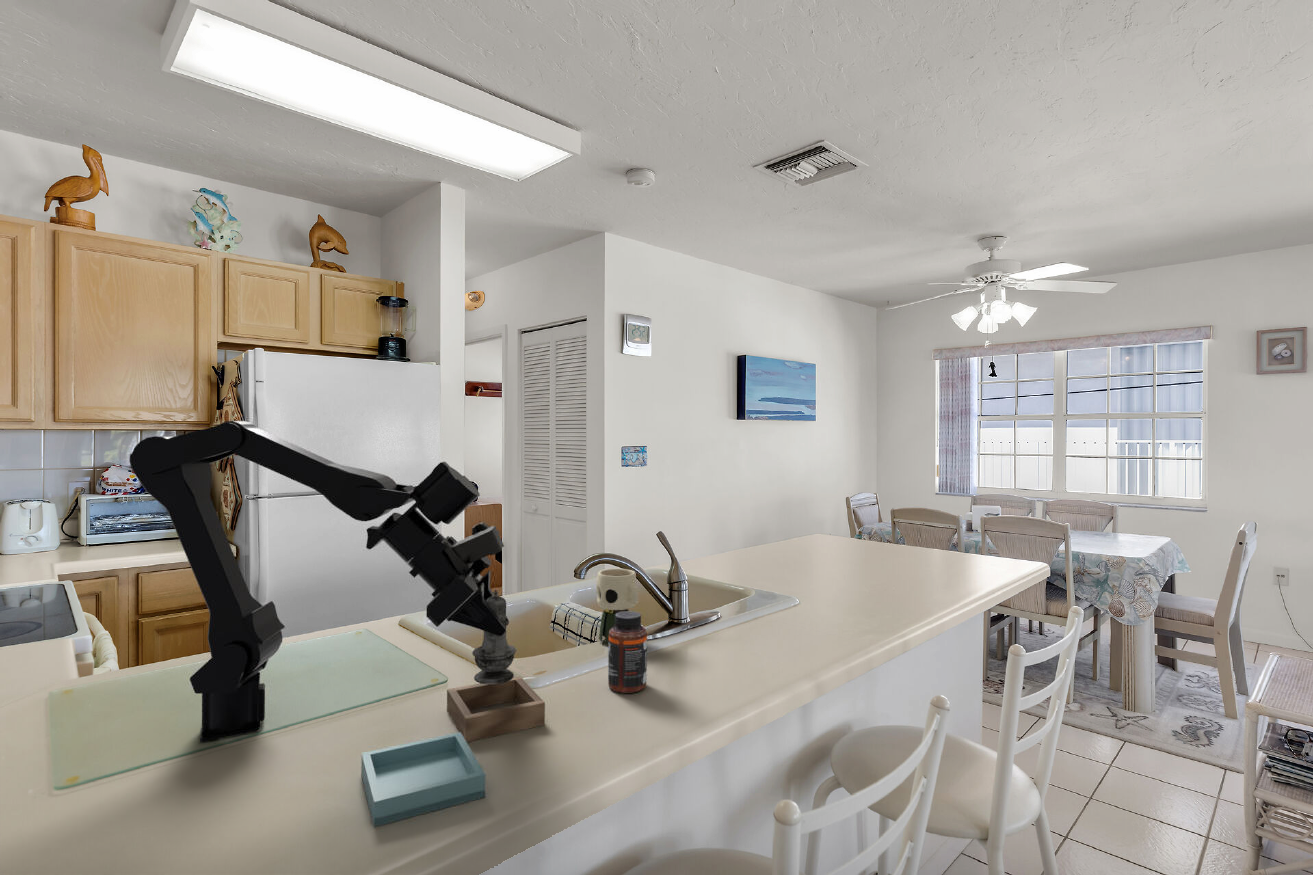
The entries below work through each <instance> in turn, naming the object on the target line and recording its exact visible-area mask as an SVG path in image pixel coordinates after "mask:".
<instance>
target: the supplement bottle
mask: <svg viewBox="0 0 1313 875" xmlns="http://www.w3.org/2000/svg"><path fill="white" fill-rule="evenodd" d="M615 623H616V624H615V625H614V626H613V627H612V628H611V629H610V631H609V643H608V651H607V652H608V653H607V654H608V659H607V660H608V661H607V662H608V666H607V667H608V668H607V669H608V670H607V672H608V673H607V674H608V676H607V678H608V681H607V682H608V687H609V689H611V690H612V691H614V692H617V693H621V694H631V693H638V692H640V691H643V689H645V688H646V687H647V676H648V675H647V674H648V673H647V670H648V666H647V664H648V662H647V659H648V657H647V656H648V648H647V647H648V632H647V630H646V628H645V627H644V626H642V624H641V623H642V614H641V613H640V612H637V611H633V610H632V611H631V610H629V611H623V612H619V613H617V614H616V615H615Z"/></svg>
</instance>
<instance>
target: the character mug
mask: <svg viewBox="0 0 1313 875" xmlns="http://www.w3.org/2000/svg"><path fill="white" fill-rule="evenodd" d="M636 585H637V574H636V571H635V570H632V569H627V568H605V569H601V570H599V571H598V573H597V579H596V588H595V589H596V594H597V595H596V602H597V604H598V607H600V608H601V609H603V612H602V614H601V620H600V626H599V633H598V634H599V635H598V639H599V641H600V642H603V638H605V639H604V643H605V644H609V631H610V629H611V628H612V627H613V626H614V625H615V624H616V623H615V615H616V614H617V613H619V612H623V611H630V610H629V609H631V608H634V606H635V605H637V604H638V602H639V589H638V588H639V587H637V586H636Z"/></svg>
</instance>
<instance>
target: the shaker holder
mask: <svg viewBox="0 0 1313 875" xmlns="http://www.w3.org/2000/svg"><path fill="white" fill-rule="evenodd" d="M513 701H515V702H516V703H517V704H515V705H510V706H505V707H499V708H496V709H491V710H485V711H480V712H476V713H471V711H470V710H473V709H478V708H482V707H488V706H493V705H497V704H502V703H508V702H513ZM446 712H447V713H448V714H449V717H450V718H451V720H452V721H453V723H454V725H455V727H456V729H457V730H458V732H461V734H462V735H463V737H464V739H465V741H466V742H467V743H469V742H474V741H479V740H482V739H487V738H490V737H491V738H492V737H495V736H496V737H497V736H500V735H505V734H509V733H514V732H518V731H523V730H527V729H532V728H537V727H541V726H544V725H545V723H546V721H545V719H546V713H545V712H546V702H545V701H544V700H543V699H542V698H541V697H540V696H539V695H538V694H537V693H536V691H535V690H534V689H533V688H532V687H531V686H530V685H529V684H528V682H526V681H525V680H524V679H523V678H522V677H521V676H514V677H513V678H512V679H511V680H510V681H507V682H505V683H501V684H491V685H490V684H481V683H475V684H470V685H465V686H464V685H463V686H459V687H453V688H452V687H451V688H448V689H446Z"/></svg>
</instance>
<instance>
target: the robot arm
mask: <svg viewBox="0 0 1313 875" xmlns="http://www.w3.org/2000/svg"><path fill="white" fill-rule="evenodd" d="M234 455H237V456H238V457H241V458H243V459H245V460H248V461H250V462H252V463H254V464H257V465H259V466H261V467H263V468H265V469H267V470H270V471H272V472H275V473H277V474H279V475H281V476H284V477H286V478H288V479H291V480H292V481H295V482H297V483H299V484H302V485H303V486H306V487H308V488H310V489H312V490H314V491H316V492H317V493H319V494H320V495H322V496H323V497H324V498H325V499H326V500H327V501H328V502H329V503H330V504H331V505H332V506H334V507H335V508H337V509H338V510H339V511H342V512H343V513H344V514H345V515H347V516H349V517H350V518H352V519H354V520H356V521H359V522H369V521H373V520H376V519H379V518H380V517H383V516H384V515H387V514H389V513H390V512H391V511H392V510H395V509H399V508H401V507H402V506H405V505H407V504H409V503H412V502H414V503H413V504H412V505H411V506H409V508H408V509H407V510H406V511H404V512H403V513H402V514H401V513H399V512H392V513H391V515H389V516H388V517H387V518H386V519H385V520H384V521H383V522H381V524H380V525H379V526H378V525H377V526H375V525H371V526H370V527H368V528H366V533H367V534H366V536H367V539H366V546H365V547H366V549H367V550H371V549H373V548H375V547H377V546H378V545H380V544H381V542H384V543H385V544H386V545H387V546H388V547H389V548H390V549H391V550H392V551H393V552H394V553H395V554H397V555H398V557H399V558H400V559H401V560H403V561H404V563H406V565H408V566H409V568H411V570H410V571H408V574H410V576H412V577H413V578H416V577H417V576H419V577H420V578H421V579H422V580H423V581H424V582H425V583H426V584H427V585H428V586H429V587H430V588H431V589H432V590H433V592H432V593H431V596H432V597H433V598H432V599H431V600H430V601H429V603H428V604H427V605H426V613H425V614H426V618H427V619H428V620H429V621H431V623H432V624H434V625H435V627H440V626H441V624H442V623H444V622H445V621H447V622H451V621H452V622H455V623H458V624H462V625H465V626H468V627H471V628H473V629H474V628H475V629H478V630H480V631H483V632H484V631H486V632H489V633H492V634H495V635H498V636H502V635H503V634H504V633H505V632H506V633H507V627H506V628H505V627H504V625H503V624H502V622H501V621H500V620H499V618H498V617H497V616H496V614H495V613H494V612H493V610H492V609H491V607H490V606H489V605H488V603H487V602H486V600H487V599H488V598H489V597H492V596H493V595H494V593H493V592H494V591H492V589H491V576H492V572H491V570H488V571H487V572H486V573H485V574H484V575H481V573H483V571H484V570H485V569H488V568H490V566H491V564H492V563H493V562H492V560H491V559H490V558H489V557H488V556H494V555H496V554H498V553H500V552H501V551H502V550H503V548H504V547H505V545H504V542H503V540H502V538H501V535H500V534H501V533H500V531H499V530H498V529H497V526H496V525H491V526H489V525H488V524H487V523H485V522H484V521H482V522H480V523H478V524H476V525H473V527H471V528H472V529H471V530H472V531H471V535H470V536H469V535H468V536H467V537H465V538H463V539H461V540H459V541H457V540H456V539H455V538H454V537H453V536H446V537H445V536H444V535H443V534H442V533H441V532H440V531H439V530H437V528H435V526H433V525H432V524H434V525H439V524H440V523H443V524H446V525H450V524H451V523H452V522H453V521H454V520H455V519H456V518H458V516H460V515H461V514H462V513H463V512H464V511H466V509H467V508H468V507H469V506H470V505H471V504H472V503H474V501H476V500H477V499H478V498H479V497H480V496H481V495H480V492H479V490H478V488H477V487H476V486H475V485H474V484H473V482H471V481H470V479H468V478H467V477H466V476H465V475H462V474H461V473H460V472H458V470H456V469H455V468H453V467H452V466H450V464H448V463H447V461H441V462H439V463H438V464H437V465H435V467H434V468H433V469H432V471H431V472H430V474H429V475H427V477H425V478H424V479H423V480H422V481H421V482H420V483H418V485H417V486H413V485H412V484H410V485H407V484H401V483H396V481H394V479H393V478H391V477H390V476H388V475H385V474H383V473H379V472H375V471H371V470H368V469H363V468H357V467H354V466H353V467H352V466H349V465H348V466H347V465H345V464H344V465H343V464H339V463H337V462H334V461H331V460H329V459H328V458H325V457H323V456H321V455H319V454H316V453H314V452H312V451H310V450H307V449H305V448H303V447H300V446H298V445H296V444H294V443H293V442H289V441H288V440H285V439H284V438H281V437H279V436H276V435H275V434H272V433H270V432H267V431H266V430H263V429H261V428H259V427H257V426H256V425H255V424H254V423H252V422H250V421H247V420H246V421H245V420H229V421H228V420H227V421H224V422H221V423H220V424H217V425H214V426H211V427H208V428H203V429H200V430H199V429H198V430H196V431H191V432H187V433H184V434H180V435H179V434H178V435H164V436H163V435H158V436H157V435H155V436H150V437H146V438H143V439H141V440H140V441H139V442H138V443H137V444H136V445H135V446H134V448H133V449H132V452H131V453H130V454H129V459H128V460H129V464H130V469H131V471H132V472H133V474H134V475H135V477H136V478H137V480H138V481H139V483H140V484H141V486H142V487H143V489H144V490H145V492H147V494H148V495H150V496H151V497H152V498H153V499H154V500H155V501H157V502H158V503H159V504H161V506H162V507H164V509H165V510H166V511H167V514H168V516H169V518H170V519H171V523H172V525H173V528H174V530H175V531H176V534H177V537H178V540H179V541H180V544H181V546H182V547H181V548H182V549H183V551H184V554H185V556H186V559H187V561H188V564H189V565H190V566H189V567H190V568H191V570H192V573H193V576H194V578H195V580H196V583H197V585H198V588H199V589H200V592H201V595H202V597H203V599H204V602H205V604H206V607H207V609H208V613H209V619H208V620H209V621H208V631H207V642H208V647H209V652H210V657H211V658H210V659H209V660H208V661H207V662H205V663H204V664H203V665H202V666H200V668H198V670H196V671H195V672H194V673H193V674H192V675H191V676H190V678H189V681H190V684H191V687H192V689H193V692H194V694H201V728H200V734H199V739H198V740H199V742H209V741H212V740H218V739H224V738H229V737H235V736H239V735H240V736H241V735H245V734H249V733H250V734H251V733H257V732H259V731H260V730H261V722H264V721H265V717H266V716H265V715H266V684H265V683H264V682H262V683H261V672H260V671H261V670H264V669H265V668H267V664H268V662H269V660H270V659H271V658H272V657H273V656H275V654H276V653H277V652H278V651H279V649H280V648H281V645H282V642H283V634H282V633H283V632H282V630H283V629H285V628H286V627H285V625H284V624H283V623H282V622H281V620H280V618H279V617H278V613H277V610H276V605H275V603H274V601H269V602H267V603H265V604H264V605H262V604H261V603H260V602H259V601H258V600H257V599H255V598H254V597H253V596H252V595H251V593H250V591H249V588H248V586H247V583H246V581H245V579H244V576H243V573H242V571H241V569H240V567H239V563H238V562H237V559H236V556H235V554H234V552H233V550H232V547H231V545H230V542H229V540H228V537H227V534H226V533H225V532H226V531H225V530H224V527H223V525H222V523H221V521H220V518H219V515H218V513H217V510H216V508H215V506H214V503H213V501H212V498H211V489H212V488H211V487H212V478H213V477H212V476H213V472H212V468H211V464H212V463H215V462H216V463H217V462H218V461H222V460H224V459H227V458H229V457H231V456H234ZM417 509H418V510H419V511H420V512H419V511H418V510H417ZM506 621H508V622H509V623H510V620H509V618H508V617H507V615H506Z"/></svg>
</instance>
